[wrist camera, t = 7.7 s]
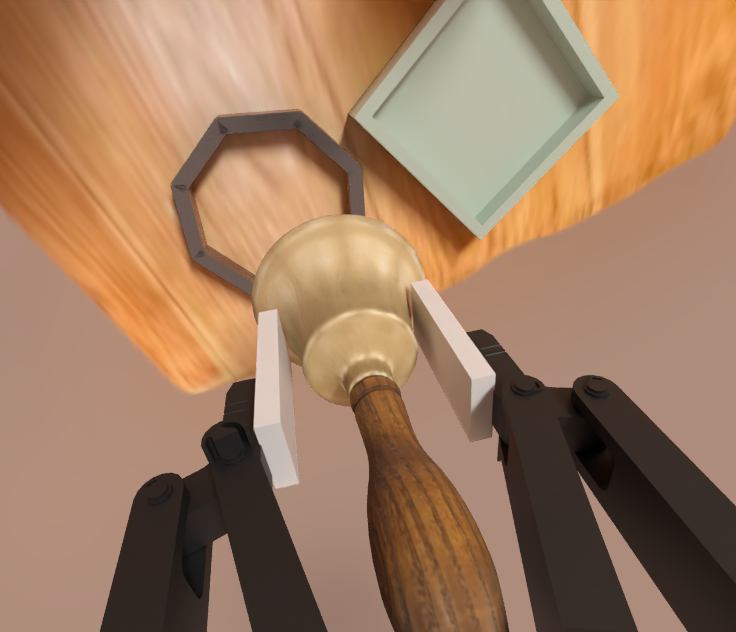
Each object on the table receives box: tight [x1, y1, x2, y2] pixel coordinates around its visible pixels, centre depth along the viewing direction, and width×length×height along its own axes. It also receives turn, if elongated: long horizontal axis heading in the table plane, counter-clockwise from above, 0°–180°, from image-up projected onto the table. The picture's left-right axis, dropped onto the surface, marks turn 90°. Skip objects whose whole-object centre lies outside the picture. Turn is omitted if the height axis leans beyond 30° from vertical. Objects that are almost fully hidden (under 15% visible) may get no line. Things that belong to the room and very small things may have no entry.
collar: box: [171, 109, 365, 296], centre depth 37 cm, size 15×15×2 cm
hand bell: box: [252, 214, 509, 632], centre depth 14 cm, size 8×8×16 cm
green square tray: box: [348, 0, 620, 240], centre depth 35 cm, size 16×16×3 cm
